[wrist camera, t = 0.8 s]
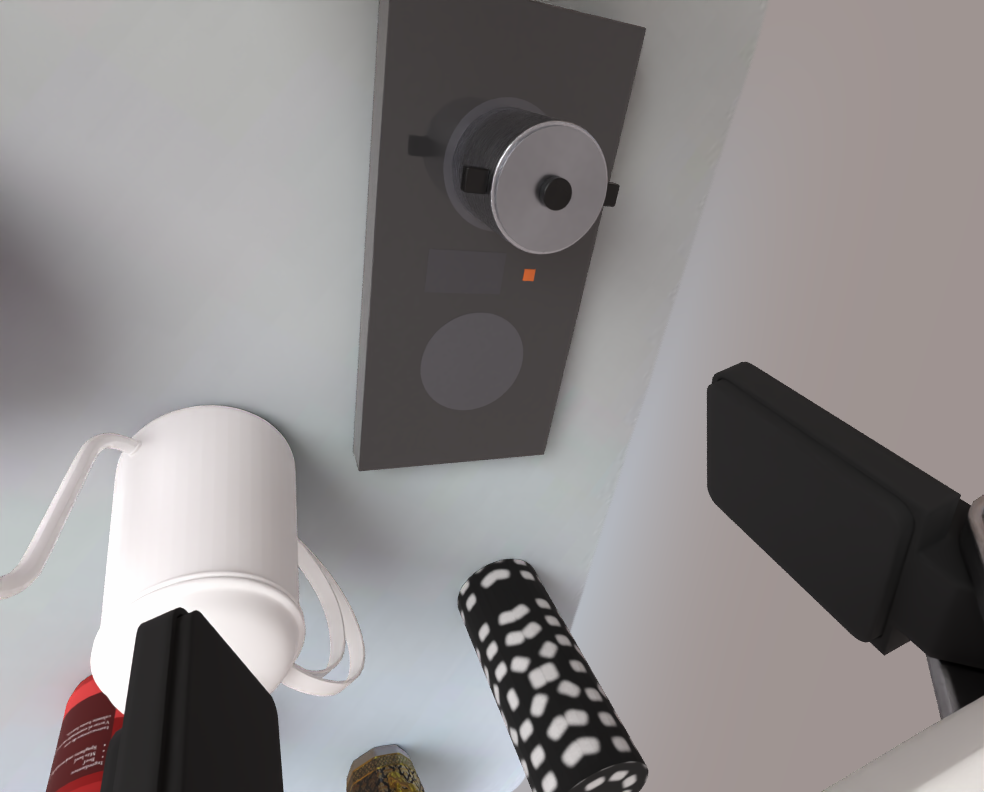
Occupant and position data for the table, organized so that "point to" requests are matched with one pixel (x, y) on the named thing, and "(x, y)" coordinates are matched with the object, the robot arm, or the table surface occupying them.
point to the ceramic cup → (383, 772)
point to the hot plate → (471, 229)
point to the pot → (532, 178)
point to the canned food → (84, 740)
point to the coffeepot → (203, 547)
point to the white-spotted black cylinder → (546, 686)
